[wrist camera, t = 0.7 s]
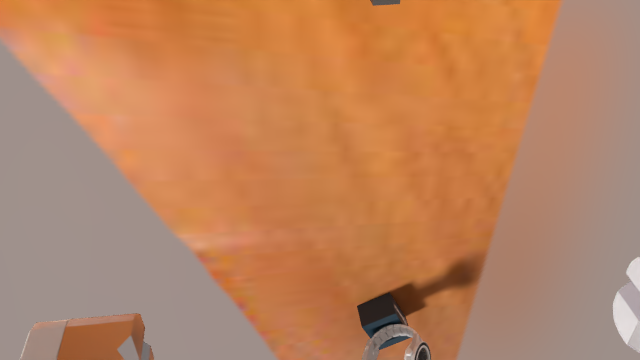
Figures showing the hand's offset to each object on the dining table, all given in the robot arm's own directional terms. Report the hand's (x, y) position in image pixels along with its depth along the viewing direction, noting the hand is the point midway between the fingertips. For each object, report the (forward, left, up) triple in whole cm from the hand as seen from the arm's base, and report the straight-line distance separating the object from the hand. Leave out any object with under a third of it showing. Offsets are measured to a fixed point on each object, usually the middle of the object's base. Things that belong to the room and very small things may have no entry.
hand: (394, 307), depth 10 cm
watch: (+50, +11, -38) cm, 64 cm away
